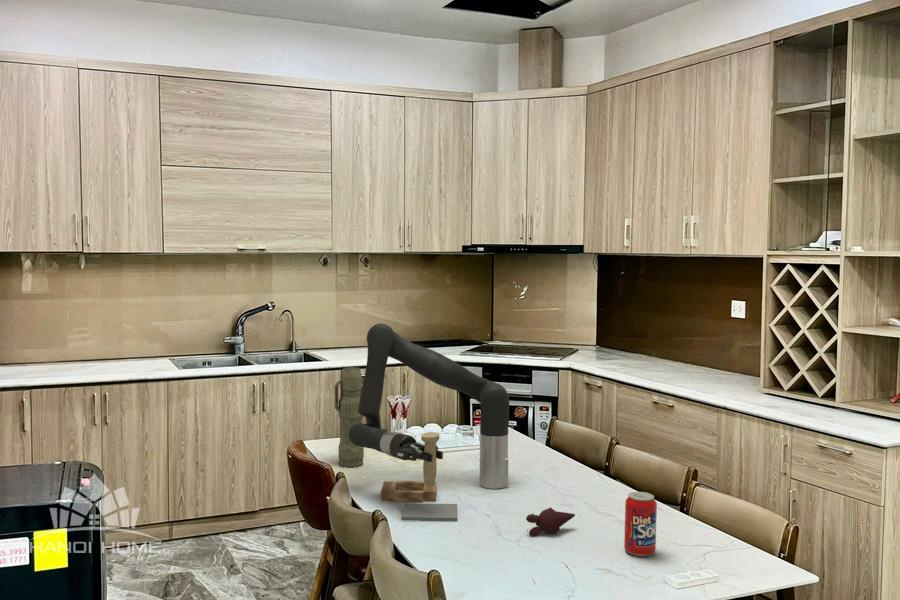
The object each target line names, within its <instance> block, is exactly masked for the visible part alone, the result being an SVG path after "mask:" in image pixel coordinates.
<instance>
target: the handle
mask: <svg viewBox="0 0 900 600" xmlns="http://www.w3.org/2000/svg"><path fill="white" fill-rule="evenodd" d="M439 440H440V433H439V432H434V431H429V432H424V433H422V434H421V442H424V444H425V448H424V452H426V453H429V454H432V456H433V460H432V462H428V461H425V460H423V464H422V465H423V466H422V467H423V468H422V470H423V471H422V474H423V481H424V484H425V486H429V487H430V486H434V485H435V482H436V478H437V468H438V467H437V458H436V446H437V442H439Z"/></svg>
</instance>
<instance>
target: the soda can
mask: <svg viewBox="0 0 900 600" xmlns="http://www.w3.org/2000/svg"><path fill="white" fill-rule="evenodd" d="M627 495H628V496H627V498H626V499H625V503H624V507H625V508H624V509H625V510H624V537H623V538H624V539H623V540H624V541H623V542H624V543H623V545H624V546H623V547H624V548H623V549H625V551H626V552H627V553H629V554H630V553H631V554H630V555H632V554H633V555H632V556H635V555H636V557H640V556H645V557H649V556H651V555H653V554H655V553H656V547H657V545H656V544H657V515H658V514H657V511H658V507H657V506H658V504H657V501H656V500H655V495H654V494H651V493H649V492H644V491H632V492H629V493H628V494H627Z"/></svg>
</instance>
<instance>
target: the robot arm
mask: <svg viewBox="0 0 900 600" xmlns="http://www.w3.org/2000/svg"><path fill="white" fill-rule="evenodd" d="M366 342H367V358H366V359H367V360H366V366H365V372H364V376H363V379H362V380H363V383H362V389H361V394H360V400H359V406H358V413H359V414H360V415H362V416H363V417H365V422H366V423H363V422H362V423H357V424H354V425H353V426H351V428H350V429H349V432H348V437H349V440H350V441H351V443H352V444H354V445H356V446H360V447H364V449H372V450H375V451H377V452H380V453H383V454H385V455H388V456H390V457H393V458H395V459H398V460H402V461H411V462H412V461H414V462H416V461H417V460H418V461H424V460H425V461H428V462H432V460H433V456H432V454H429V453H426V452H424V448H425V443H422V442H417V441H416V439H415V438H414V436H412V435H409V434H406V433H403V432H398V431H394V430H389V429H386V428H385V429H384V428H382V426H381V424H382V423H381V422H382V421H381V407H382V399H383V395H384V393H383V392H384V385H385V373H386V368H387V364H388V358H391V359H394V360H396V361H398V362H400V363H402V364H404V366H406V367H408V368H409V369H411V370H412V371H414V372H416V373H417V374H418V375H419V376H422V377H424V378H425V379H427V380H429V381H431V382H432V383H435V384H436V385H439V386H441V387H443V388H445V389H446V388H447V389H450V390H453V391H457V392H460V393H462V394H465V395H467V396H469V397H470V398H472V399H473V400H475V401H477V402H478V403H479V404H480V423H479V486H480V487H481V488H485V489H491V490H493V489H494V490H495V489H496V490H498V489H504V488H509V428H510V427H509V426H510V397H509V393H508V391H507V389H506V388H505V387H504V386H503V385H501V384H499V383H497V382H495V381H492V380H489V379H487V378H484V377H483V376H479V375H477V374H475V373H473V372H472V371H470V370H469V369H467V368H465V367H464V366H463V365H461V364H459V363H458V362H456V361H454V360H452V359H451V358H450V357H448V356H445V355H443V354H442V353H440V352H437V351H435V350H433V349H431V348H428V347H425V346H422V345H419V344H416V343H413V342H412V341H410V340H408V339H406V338H404V337H402V336H401V335H400V334H398V333H397V332H395V331H394V330H393V328H392V327H391V326H390V325H388V324H386V323H377V324H374V325H372V326H371V327H370V328H369V330H368V331H367V335H366ZM443 459H444V452H443V451H442V450H439V446H437V445H436V460H443Z"/></svg>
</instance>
